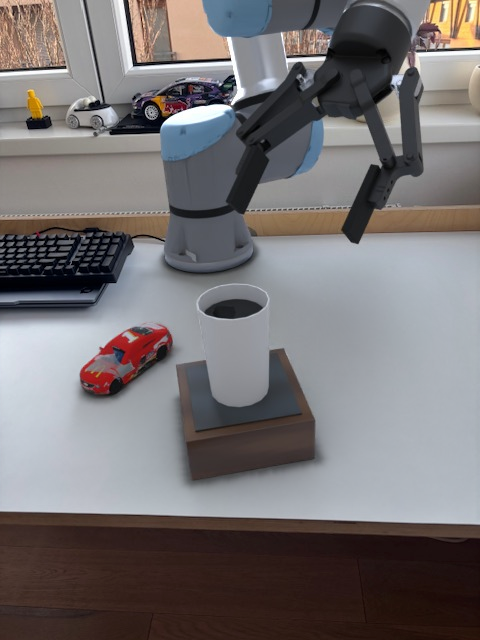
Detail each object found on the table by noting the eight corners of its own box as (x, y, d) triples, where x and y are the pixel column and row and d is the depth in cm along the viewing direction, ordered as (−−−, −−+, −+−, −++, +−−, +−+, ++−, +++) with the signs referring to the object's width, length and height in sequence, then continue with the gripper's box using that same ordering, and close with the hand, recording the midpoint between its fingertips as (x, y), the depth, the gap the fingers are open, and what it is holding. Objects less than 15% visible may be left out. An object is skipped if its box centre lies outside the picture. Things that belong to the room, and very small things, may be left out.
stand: (181, 399, 61) (175, 362, 58) (284, 383, 63) (283, 346, 60) (191, 480, 51) (185, 440, 48) (314, 458, 52) (315, 418, 50)
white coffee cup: (220, 418, 50) (210, 327, 45) (197, 378, 56) (186, 293, 51) (284, 397, 52) (282, 308, 47) (257, 361, 58) (252, 277, 52)
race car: (102, 405, 61) (95, 377, 59) (72, 388, 64) (64, 361, 62) (181, 348, 70) (177, 322, 68) (151, 335, 73) (146, 310, 71)
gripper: (512, 59, 49) (419, 269, 48) (290, 52, 64) (214, 213, 62) (503, -5, 43) (397, 233, 42) (260, 3, 58) (175, 181, 56)
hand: (287, 222), depth 52 cm, fingers open, 13 cm apart
